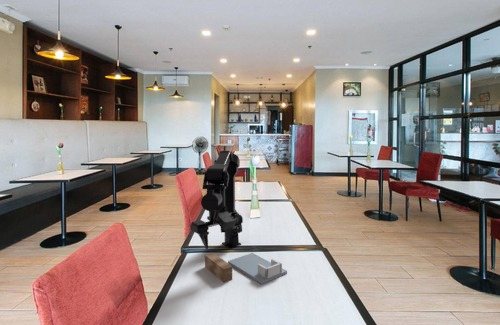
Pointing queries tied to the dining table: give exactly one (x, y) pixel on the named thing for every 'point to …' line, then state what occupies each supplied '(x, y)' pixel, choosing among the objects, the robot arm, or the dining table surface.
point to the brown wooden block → (218, 267)
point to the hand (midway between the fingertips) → (217, 245)
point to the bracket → (258, 267)
